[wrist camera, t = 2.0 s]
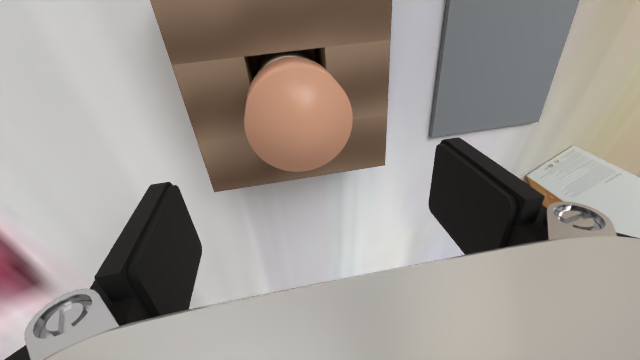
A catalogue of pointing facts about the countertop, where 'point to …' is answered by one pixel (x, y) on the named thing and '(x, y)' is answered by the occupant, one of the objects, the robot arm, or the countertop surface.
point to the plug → (296, 113)
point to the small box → (591, 187)
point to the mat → (497, 62)
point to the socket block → (242, 63)
